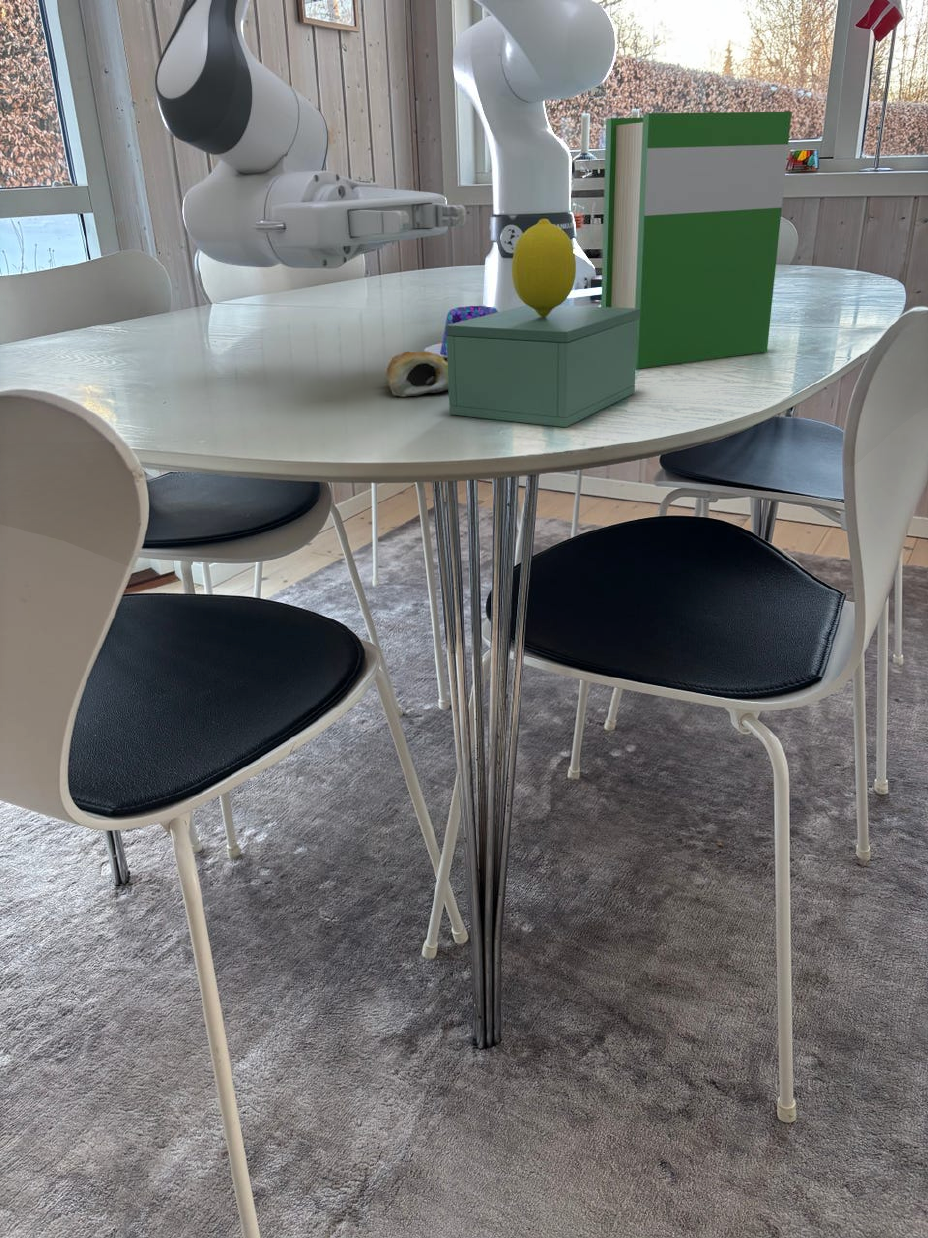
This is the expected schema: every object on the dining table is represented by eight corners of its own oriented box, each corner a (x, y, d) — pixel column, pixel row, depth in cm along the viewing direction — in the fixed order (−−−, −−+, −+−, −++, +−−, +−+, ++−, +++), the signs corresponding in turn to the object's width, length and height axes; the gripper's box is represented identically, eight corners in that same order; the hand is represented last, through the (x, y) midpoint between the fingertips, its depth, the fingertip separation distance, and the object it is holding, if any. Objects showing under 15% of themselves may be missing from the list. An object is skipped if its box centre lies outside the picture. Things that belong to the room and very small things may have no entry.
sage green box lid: (529, 313, 91) (529, 303, 90) (640, 317, 85) (640, 308, 85) (446, 335, 79) (445, 325, 79) (567, 342, 74) (567, 331, 73)
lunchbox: (527, 383, 93) (527, 313, 90) (635, 393, 88) (638, 318, 85) (449, 414, 82) (446, 335, 79) (565, 427, 77) (567, 343, 74)
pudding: (415, 364, 106) (412, 316, 103) (434, 346, 116) (432, 302, 114) (519, 363, 104) (518, 314, 101) (529, 345, 114) (529, 301, 112)
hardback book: (637, 368, 98) (648, 112, 88) (599, 358, 104) (606, 118, 94) (767, 351, 105) (791, 111, 94) (724, 343, 111) (743, 116, 101)
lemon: (572, 320, 79) (573, 218, 75) (507, 321, 80) (506, 220, 76) (577, 312, 83) (579, 216, 80) (517, 312, 85) (516, 218, 81)
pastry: (381, 380, 97) (379, 343, 96) (444, 376, 98) (442, 339, 97) (391, 398, 89) (389, 358, 87) (460, 394, 90) (459, 354, 88)
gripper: (237, 188, 82) (360, 183, 75) (377, 182, 97) (489, 177, 90) (247, 264, 84) (367, 266, 77) (381, 246, 100) (491, 246, 93)
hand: (434, 218), depth 84 cm, fingers open, 8 cm apart
